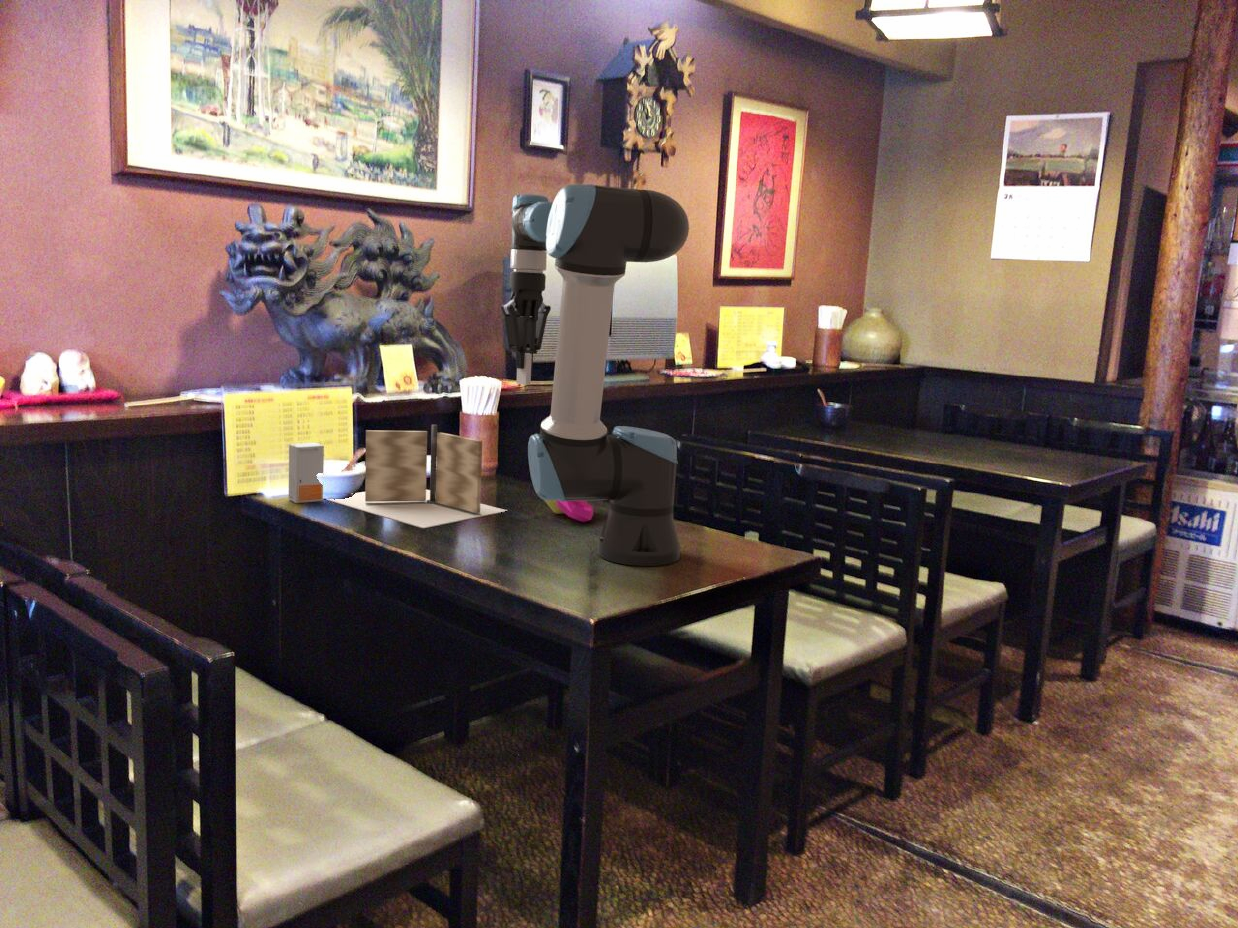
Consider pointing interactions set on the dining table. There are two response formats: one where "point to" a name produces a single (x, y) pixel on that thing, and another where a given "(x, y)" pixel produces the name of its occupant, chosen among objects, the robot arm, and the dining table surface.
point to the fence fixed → (455, 471)
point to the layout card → (416, 510)
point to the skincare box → (305, 472)
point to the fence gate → (395, 466)
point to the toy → (572, 509)
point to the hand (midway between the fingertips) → (523, 383)
